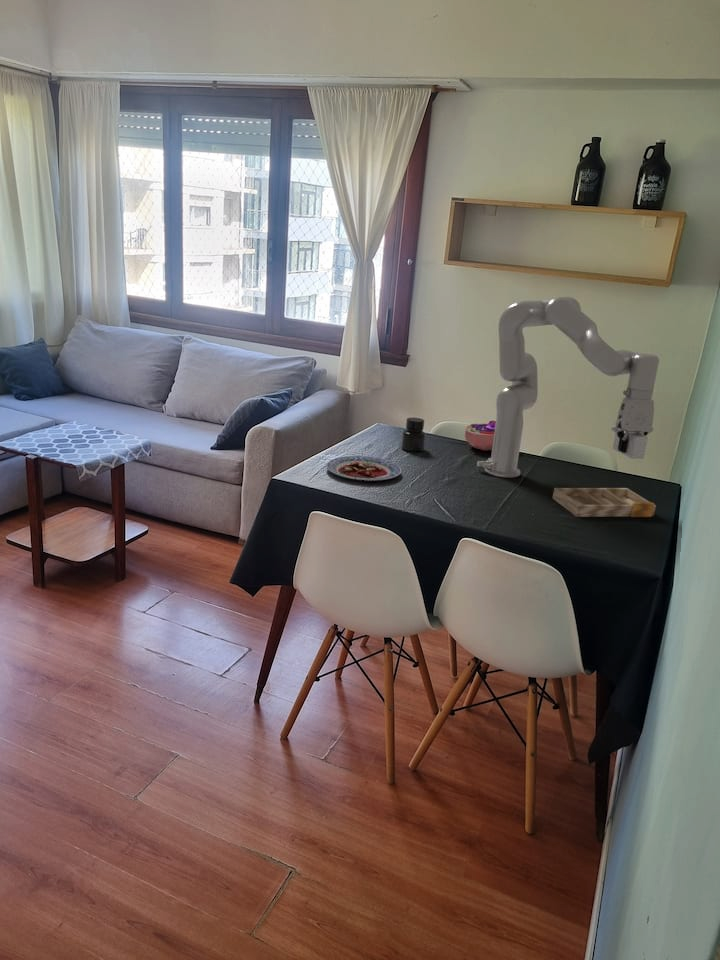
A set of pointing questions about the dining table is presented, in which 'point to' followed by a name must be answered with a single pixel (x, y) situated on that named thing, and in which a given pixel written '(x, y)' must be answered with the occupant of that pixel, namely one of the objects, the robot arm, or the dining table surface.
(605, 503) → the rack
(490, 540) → the dining table surface
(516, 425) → the robot arm
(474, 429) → the cell model
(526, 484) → the dining table surface
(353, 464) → the ceramic plate
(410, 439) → the ink bottle
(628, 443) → the grey block
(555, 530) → the dining table surface
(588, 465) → the dining table surface
